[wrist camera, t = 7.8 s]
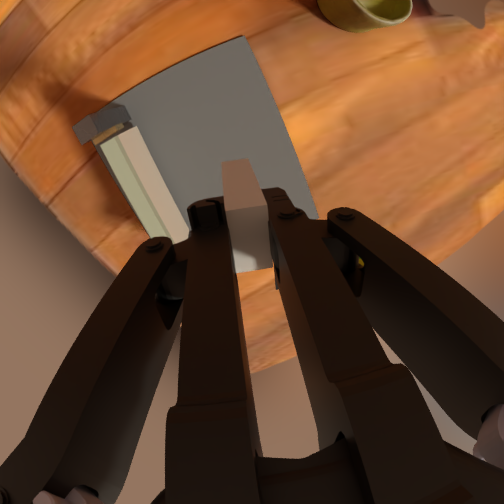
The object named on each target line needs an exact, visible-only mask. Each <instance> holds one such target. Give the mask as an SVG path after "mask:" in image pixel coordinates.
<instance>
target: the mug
mask: <svg viewBox="0 0 504 504" xmlns="http://www.w3.org/2000/svg"><path fill="white" fill-rule="evenodd" d="M317 3H318V6H319V8H320V10H321V12H322V13H323V15H324V16H325V17H326V18H327V19H328V20H329V21H330V22H331V23H332V24H334V25H335V26H336V27H338V28H340V29H342V30H345V31H348V32H354V33H361V32H367V31H370V30H372V29H376V28H382V27H389V26H394V25H397V24H399V23H401V22H403V21H405V20H406V19H407V18H408V17H409V15H410V13H411V10H412V0H317Z"/></svg>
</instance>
